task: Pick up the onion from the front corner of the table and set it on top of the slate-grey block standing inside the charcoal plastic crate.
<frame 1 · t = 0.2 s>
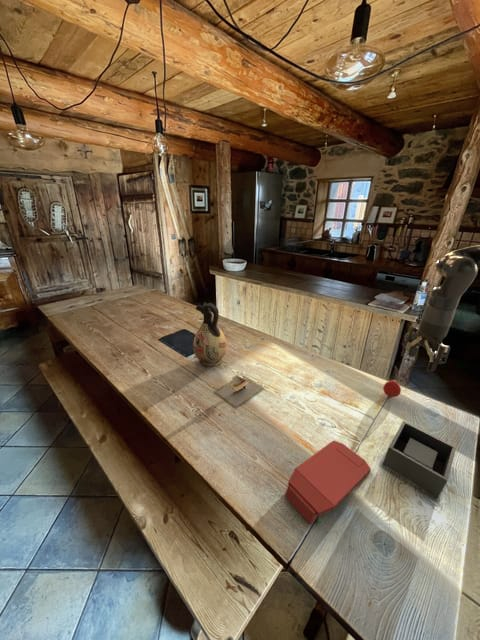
hand: (420, 363, 89), 20 cm above the table, tool pointing down, fingers open, 8 cm apart
onion: (389, 396, 104), on the table
crate: (414, 465, 78), on the table
ceramic jug: (211, 361, 124), on the table
architectural model: (239, 390, 106), on the table
block: (415, 463, 77), point 1 cm above the table, touching crate
carton: (327, 480, 73), on the table
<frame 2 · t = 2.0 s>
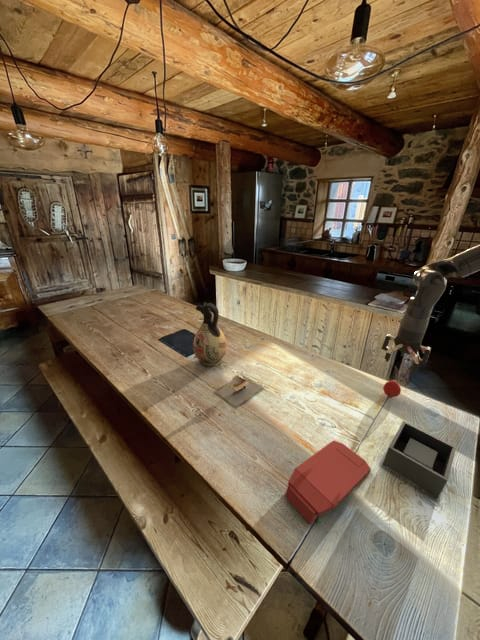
hand: (399, 365, 97), 15 cm above the table, tool pointing down, fingers open, 8 cm apart
nothing on the table moved.
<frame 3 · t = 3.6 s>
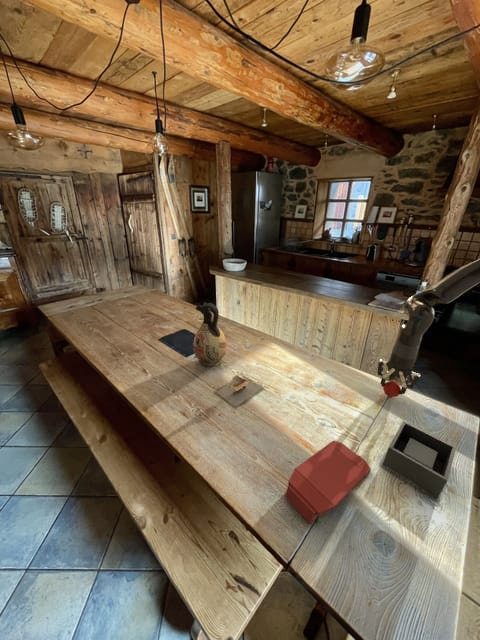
hand: (391, 389, 102), 4 cm above the table, tool pointing down, fingers closed on onion, 6 cm apart
onion: (389, 396, 104), on the table, touching gripper
everything else where it was.
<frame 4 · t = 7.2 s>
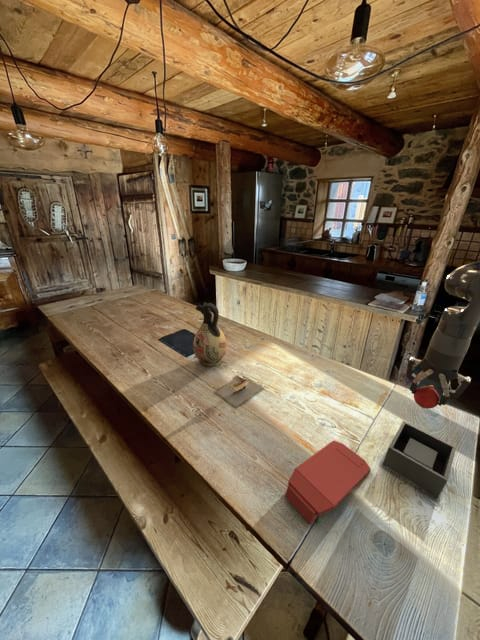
hand: (426, 397, 75), 20 cm above the table, tool pointing down, fingers closed on onion, 6 cm apart
onion: (421, 408, 76), point 16 cm above the table, touching gripper
everything else where it was.
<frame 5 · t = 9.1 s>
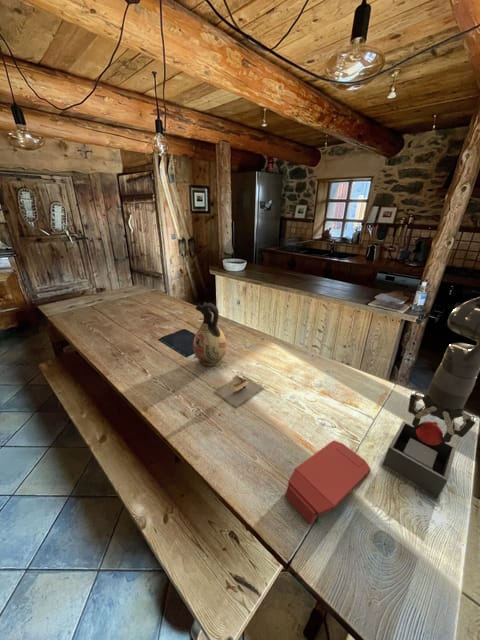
hand: (429, 433, 72), 13 cm above the table, tool pointing down, fingers closed on onion, 6 cm apart
onion: (424, 443, 73), point 9 cm above the table, touching gripper
everything else where it was.
when the fingers open (9 cm above the table, at t = 10.6 s): onion stays where it is, resting on block.
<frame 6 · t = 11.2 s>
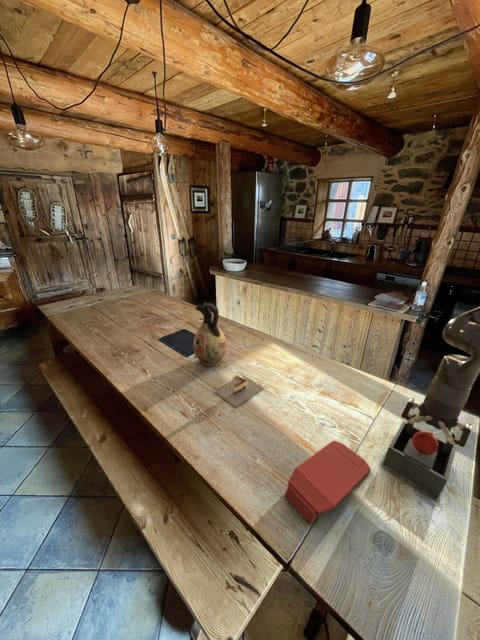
hand: (425, 440, 73), 11 cm above the table, tool pointing down, fingers open, 8 cm apart
onion: (420, 452, 75), point 6 cm above the table, touching block
block: (415, 463, 77), point 1 cm above the table, touching crate, onion
everything else where it was.
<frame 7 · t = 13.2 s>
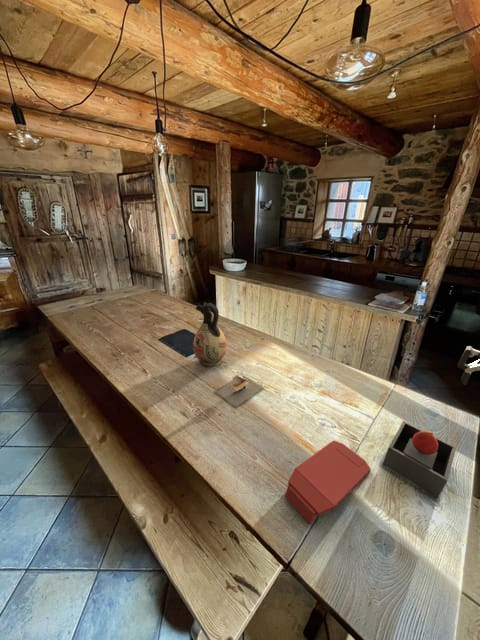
nothing on the table moved.
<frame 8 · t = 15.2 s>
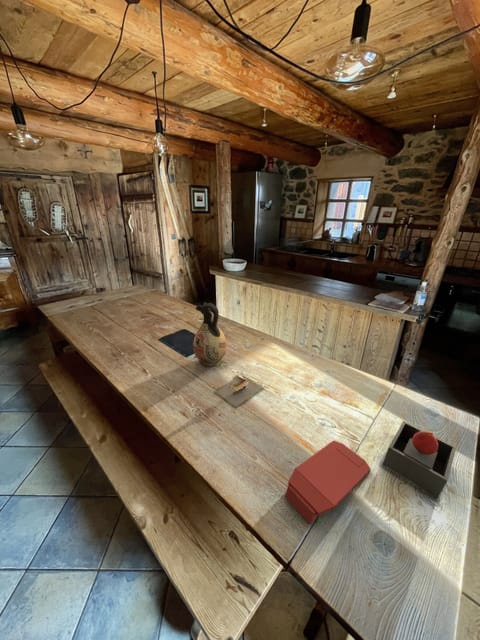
nothing on the table moved.
at the end: onion 0.1 cm off-centre on the block, point 4.8 cm above the block's base; onion touching block; the gripper is holding nothing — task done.
